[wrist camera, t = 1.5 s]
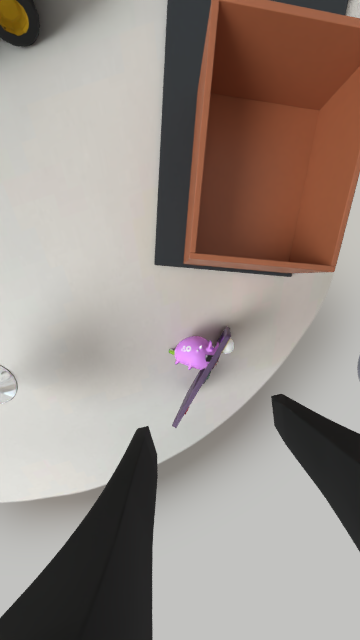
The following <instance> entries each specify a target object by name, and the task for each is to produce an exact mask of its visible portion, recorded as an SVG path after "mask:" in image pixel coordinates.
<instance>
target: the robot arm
mask: <svg viewBox="0 0 360 640" xmlns="http://www.w3.org/2000/svg"><path fill="white" fill-rule="evenodd" d="M271 398H272V407H273V415H274V425H275V427H276V429H277V431H278V432H279V434H280V436H281V437H282V439H283V441H284V442H285V444H286V445H287V447H288V448H289V449H290V450H291V452H292V453H293V455H294V456H295V457H296V459H297V460H298V462H299V463H300V464H301V466H302V467H303V468H304V469H305V471H306V472H307V473H308V475H309V476H310V477H311V479H312V480H313V481H314V483H315V484H316V485H317V487H318V488H319V489H320V491H321V492H322V494H323V495H324V497H325V498H326V499H327V501H328V502H329V504H330V505H331V507H332V508H333V510H334V511H335V513H336V515H337V516H338V518H339V519H340V521H341V523H342V524H343V526H344V527H345V529H346V530H347V532H348V534H349V535H350V537H351V538H352V540H353V542H354V543H355V545H356V546H357V548H358V550H359V551H360V434H359V433H356V432H354V431H352V430H350V429H348V428H346V427H344V426H341V425H339V424H337V423H335V422H333V421H331V420H329V419H327V418H325V417H323V416H321V415H319V414H318V413H316V412H314V411H312V410H310V409H308V408H306V407H305V406H303V405H301V404H299V403H297V402H296V401H294V400H292V399H290V398H289V397H287V396H285V395H283V394H279V395H274V396H272V397H271ZM156 489H157V453H156V450H155V446H154V443H153V440H152V437H151V433H150V430H149V427H148V426H146V427H142V428H138V429H137V430H136V432H135V434H134V436H133V438H132V440H131V442H130V444H129V446H128V448H127V450H126V452H125V454H124V456H123V458H122V459H121V461H120V463H119V465H118V467H117V468H116V470H115V472H114V474H113V475H112V477H111V479H110V480H109V482H108V484H107V485H106V487H105V489H104V490H103V492H102V493H101V495H100V496H99V498H98V500H97V501H96V502H95V504H94V506H93V507H92V508H91V510H90V511H89V513H88V514H87V515H86V517H85V518H84V520H83V521H82V522H81V524H80V525H79V526H78V528H77V529H76V531H74V533H73V534H72V535H71V537H70V538H69V539H68V541H67V542H66V544H65V545H64V546H63V547H62V548H61V550H60V551H59V552H58V553H57V554H56V556H55V557H54V558H53V559H52V560H51V562H50V563H49V564H48V565H47V566H46V568H45V569H44V570H43V571H42V572H41V573H40V575H39V576H38V577H37V578H36V579H35V580H34V582H33V583H32V584H31V585H30V586H29V587H28V588H27V589H26V590H25V592H24V593H23V594H22V595H21V596H20V597H19V598H18V599H17V600H16V602H15V603H14V604H13V605H12V606H11V607H10V608H9V609H8V610H7V611H6V612H5V613H4V615H3V616H2V617H1V618H0V640H152V544H153V527H154V515H155V502H156Z"/></svg>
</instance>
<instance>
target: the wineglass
mask: <svg viewBox="0 0 360 640" xmlns="http://www.w3.org/2000/svg"><path fill="white" fill-rule="evenodd" d="M16 390H17V385H16V381H15V379H14V377H13V375H12V374H11V373H10V372H9V371H8V370H6V369H5V368H3V367H2V366H0V404H2V403H6V402H8V401H9V400H11V399H12V398H13V397H14V395H15V393H16Z"/></svg>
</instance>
